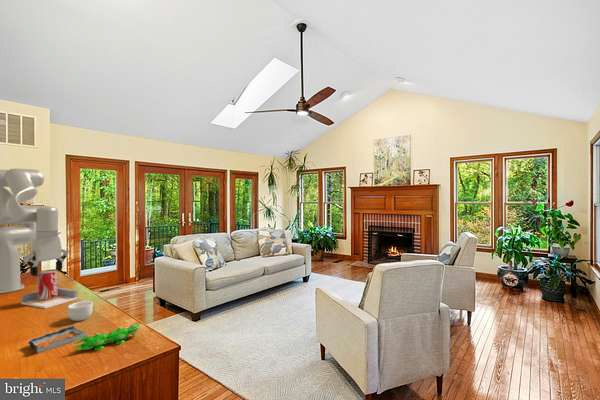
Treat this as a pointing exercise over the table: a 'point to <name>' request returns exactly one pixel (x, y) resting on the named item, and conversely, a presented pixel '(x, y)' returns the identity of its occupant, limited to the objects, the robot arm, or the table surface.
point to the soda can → (47, 284)
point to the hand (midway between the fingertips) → (47, 272)
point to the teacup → (80, 310)
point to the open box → (62, 297)
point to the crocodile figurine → (106, 338)
